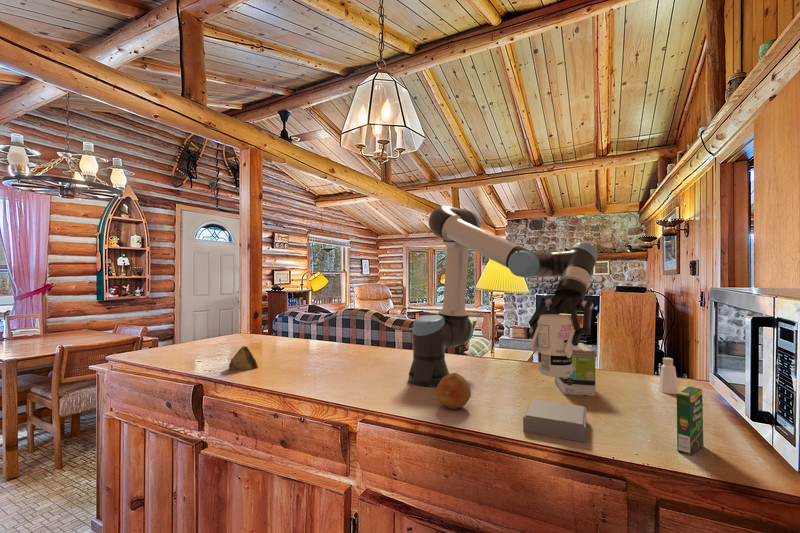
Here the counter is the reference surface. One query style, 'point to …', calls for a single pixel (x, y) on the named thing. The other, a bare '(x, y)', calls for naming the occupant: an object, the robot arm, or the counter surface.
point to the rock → (243, 360)
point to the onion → (453, 391)
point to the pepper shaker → (668, 377)
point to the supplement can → (554, 345)
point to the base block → (555, 420)
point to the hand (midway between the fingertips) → (549, 351)
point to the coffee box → (689, 420)
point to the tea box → (580, 373)
